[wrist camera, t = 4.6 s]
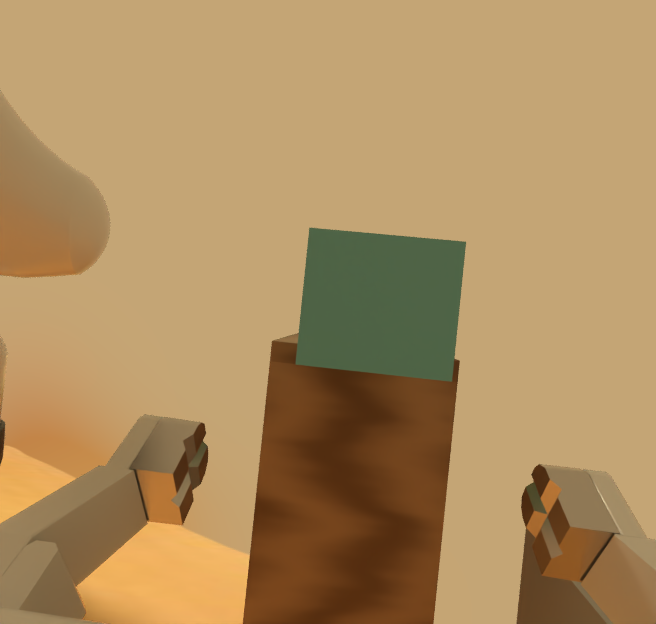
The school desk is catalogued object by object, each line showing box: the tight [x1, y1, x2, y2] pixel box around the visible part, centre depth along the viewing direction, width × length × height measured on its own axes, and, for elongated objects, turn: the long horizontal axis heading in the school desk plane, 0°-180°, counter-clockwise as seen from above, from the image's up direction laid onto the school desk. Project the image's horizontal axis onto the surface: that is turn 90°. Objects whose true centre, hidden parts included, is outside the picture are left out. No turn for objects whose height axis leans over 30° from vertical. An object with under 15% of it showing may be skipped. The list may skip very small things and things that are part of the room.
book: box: [296, 228, 466, 382], centre depth 22 cm, size 5×20×4 cm, turn 177°
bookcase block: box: [243, 333, 460, 624], centre depth 26 cm, size 9×12×26 cm
